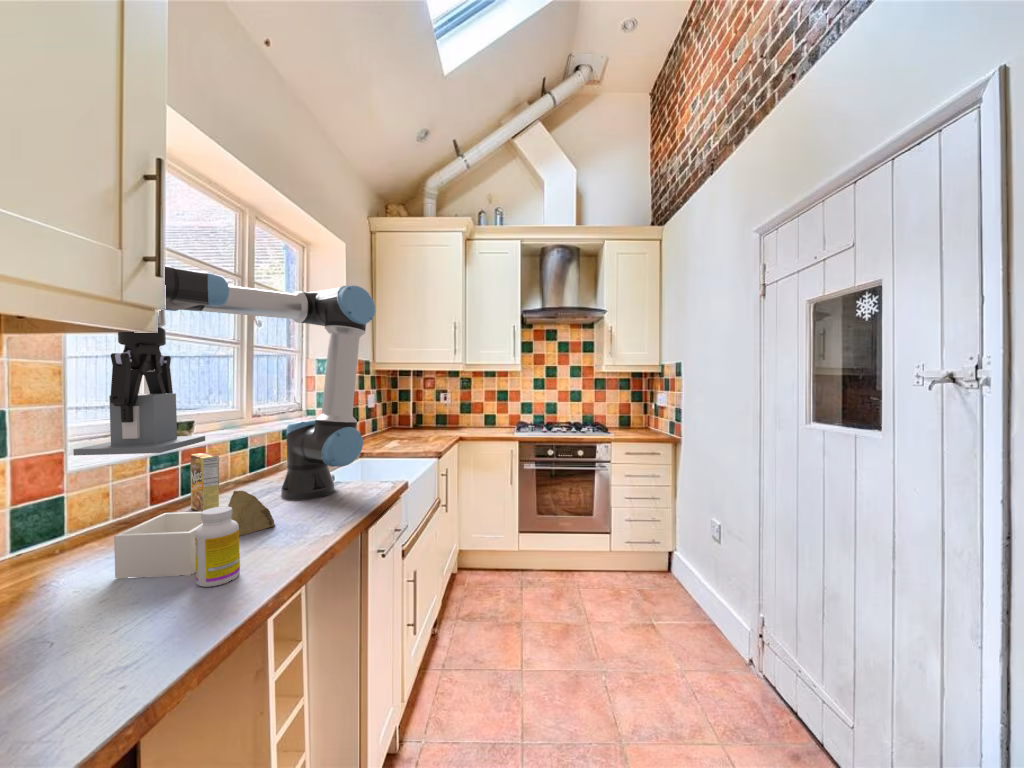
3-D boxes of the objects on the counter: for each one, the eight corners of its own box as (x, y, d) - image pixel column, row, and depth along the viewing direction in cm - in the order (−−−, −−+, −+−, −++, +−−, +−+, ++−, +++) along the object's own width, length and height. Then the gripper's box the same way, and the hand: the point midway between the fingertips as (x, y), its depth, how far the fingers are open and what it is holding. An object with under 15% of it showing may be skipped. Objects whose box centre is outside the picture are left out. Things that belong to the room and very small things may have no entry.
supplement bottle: (248, 573, 80) (247, 506, 79) (214, 590, 73) (213, 517, 73) (221, 569, 82) (220, 503, 81) (186, 585, 75) (185, 514, 75)
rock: (282, 511, 109) (240, 508, 107) (278, 490, 104) (234, 487, 102) (266, 550, 100) (220, 548, 99) (261, 530, 95) (212, 526, 93)
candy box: (190, 508, 119) (188, 454, 119) (207, 504, 122) (206, 452, 122) (202, 514, 114) (201, 457, 114) (220, 510, 117) (219, 455, 117)
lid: (133, 442, 95) (131, 393, 95) (205, 440, 97) (204, 392, 97) (73, 455, 81) (71, 396, 80) (160, 453, 82) (158, 395, 82)
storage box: (165, 549, 91) (164, 512, 91) (229, 547, 92) (229, 510, 92) (115, 578, 78) (114, 536, 78) (190, 575, 79) (189, 532, 79)
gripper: (156, 331, 98) (158, 429, 98) (79, 320, 78) (83, 443, 79) (191, 331, 99) (193, 428, 99) (124, 320, 79) (128, 442, 80)
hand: (145, 435), depth 89 cm, fingers closed on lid, 7 cm apart
